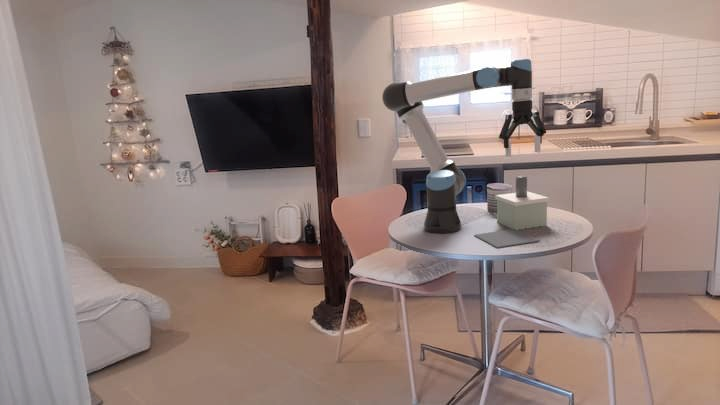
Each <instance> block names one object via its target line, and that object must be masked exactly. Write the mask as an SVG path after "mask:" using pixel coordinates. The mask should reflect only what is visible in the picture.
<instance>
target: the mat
mask: <svg viewBox="0 0 720 405" xmlns="http://www.w3.org/2000/svg"><path fill="white" fill-rule="evenodd" d="M474 237H475V238H477V239H479V240H481V241H483V242H485V243H487V244H488V245H490V246H492V247H494V248H496V249H500V248H501V249H502V248H508V247H512V246H513V247H515V246H522V245H526V244H532V243H540V240H539V239H537V238H535V237H533V236H531V235H529V234H526V233H524V232H523V231H520V230H515V229H512V228H508V229H504V230H497V231H490V232H483V233H477V234H474Z"/></svg>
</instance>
